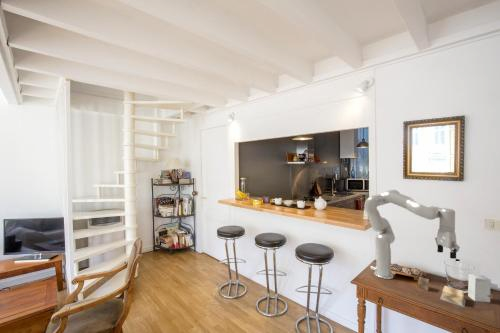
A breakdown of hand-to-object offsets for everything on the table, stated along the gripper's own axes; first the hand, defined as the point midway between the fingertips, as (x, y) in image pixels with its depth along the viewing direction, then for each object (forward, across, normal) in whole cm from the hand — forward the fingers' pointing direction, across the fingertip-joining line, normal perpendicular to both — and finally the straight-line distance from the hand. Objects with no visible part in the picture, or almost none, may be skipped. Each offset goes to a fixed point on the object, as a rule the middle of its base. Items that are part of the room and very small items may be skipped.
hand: (446, 255), depth 147 cm
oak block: (+25, +6, -1) cm, 25 cm away
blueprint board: (+26, +6, -1) cm, 26 cm away
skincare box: (+26, +6, +16) cm, 31 cm away
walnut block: (+26, -7, -9) cm, 28 cm away
